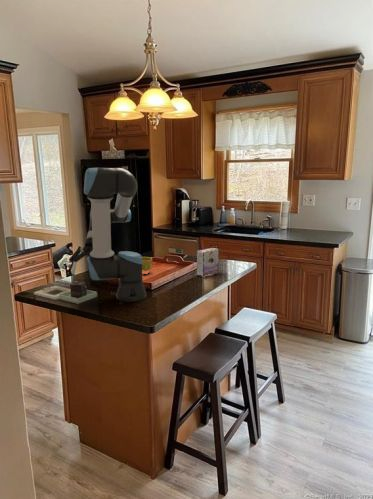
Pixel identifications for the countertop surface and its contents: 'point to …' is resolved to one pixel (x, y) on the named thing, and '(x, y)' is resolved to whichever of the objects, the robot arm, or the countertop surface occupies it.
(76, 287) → the box
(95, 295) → the tray
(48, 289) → the socket block
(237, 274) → the countertop surface
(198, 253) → the candy box
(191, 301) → the countertop surface
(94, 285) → the countertop surface
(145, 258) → the plant pot
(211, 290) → the countertop surface
